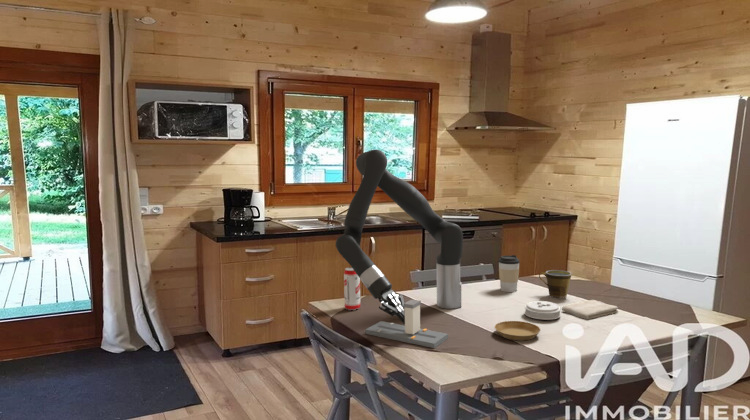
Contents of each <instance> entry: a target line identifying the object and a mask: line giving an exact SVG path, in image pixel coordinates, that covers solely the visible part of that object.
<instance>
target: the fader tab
mask: <svg viewBox="0 0 750 420" xmlns="http://www.w3.org/2000/svg"><path fill="white" fill-rule="evenodd" d="M421 302H422V300H417V299H410V300H408V301H406V302H404V307H405V308H404V312H405V324H404V326H405V333H408V334H415V333H416V332H418V331H419V330H420V329H421V304H422V303H421Z"/></svg>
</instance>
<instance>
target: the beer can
mask: <svg viewBox="0 0 750 420" xmlns="http://www.w3.org/2000/svg"><path fill="white" fill-rule="evenodd" d="M360 282H361V279H360V278H359V276H358V275H357V274H356V272H355V271H354V270H353V268H352V267H345V268H344V272H343V285H344V287H343V289H344V291H343V292H344V294H343V295H344V308H345V309H346V310H347V309H348V310H347V311H351V310H353V311H357V310H356V309H358V310H359V309H360V308H361V283H360Z"/></svg>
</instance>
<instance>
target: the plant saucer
mask: <svg viewBox="0 0 750 420" xmlns="http://www.w3.org/2000/svg"><path fill="white" fill-rule="evenodd" d="M494 330H496V332H497V333H498V334H499V335H500V336H501V337H503V338H505V339H507V340H511V341H519V342H520V341H521V342H523V341H530V340H533V339H534V338H535V337H537V336H538V335H539V333H540V332H541V328H540V326H538V325H536V324H534V323H530V322H527V321H520V320H508V321H507V320H505V321H500V322H498V323H496V324H495V325H494Z"/></svg>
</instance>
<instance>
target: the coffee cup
mask: <svg viewBox="0 0 750 420" xmlns="http://www.w3.org/2000/svg"><path fill="white" fill-rule="evenodd" d="M497 262H498V274H499V276H498V277H499V285H500V286H499V287H500V291H501V292H504V293H505V292H506V293H514V292H517V291H518V282H519V275H520V274H519V273H520V259H519V258H518V257H517V255H515V254H512V255H501V256H500V258H499V259H498V261H497Z"/></svg>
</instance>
